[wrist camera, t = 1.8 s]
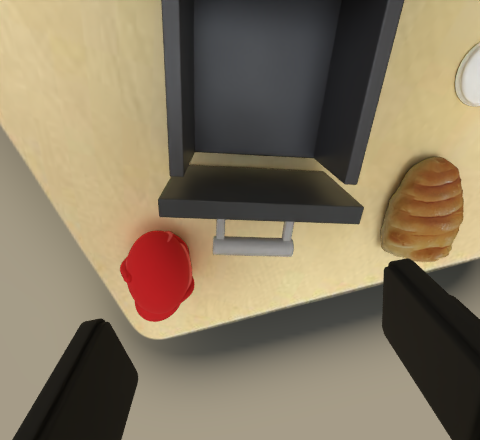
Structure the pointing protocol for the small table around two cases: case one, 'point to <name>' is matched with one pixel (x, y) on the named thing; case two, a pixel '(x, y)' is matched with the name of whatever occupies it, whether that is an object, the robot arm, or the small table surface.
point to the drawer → (271, 108)
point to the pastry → (424, 212)
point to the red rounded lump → (158, 274)
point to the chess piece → (469, 78)
